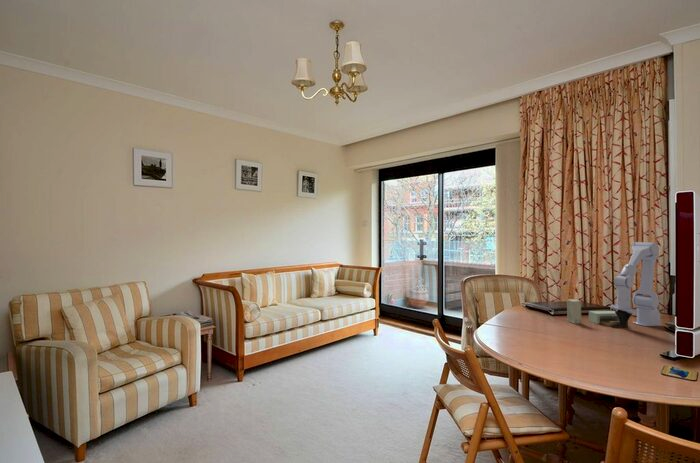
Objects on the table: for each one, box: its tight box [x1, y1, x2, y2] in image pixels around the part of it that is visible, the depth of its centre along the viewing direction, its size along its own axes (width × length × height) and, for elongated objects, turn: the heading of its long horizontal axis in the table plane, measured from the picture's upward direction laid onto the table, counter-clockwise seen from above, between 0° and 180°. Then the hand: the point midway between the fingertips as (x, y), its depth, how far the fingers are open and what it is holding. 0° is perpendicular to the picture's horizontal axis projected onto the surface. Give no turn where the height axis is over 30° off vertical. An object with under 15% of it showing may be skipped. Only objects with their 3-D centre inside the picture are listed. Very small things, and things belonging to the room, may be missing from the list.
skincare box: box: [566, 298, 582, 325], centre depth 195 cm, size 6×4×12 cm
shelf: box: [588, 310, 619, 325], centre depth 196 cm, size 14×6×6 cm, turn 94°
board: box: [599, 319, 629, 328], centre depth 192 cm, size 9×12×3 cm
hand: (623, 325), depth 183 cm, fingers closed
